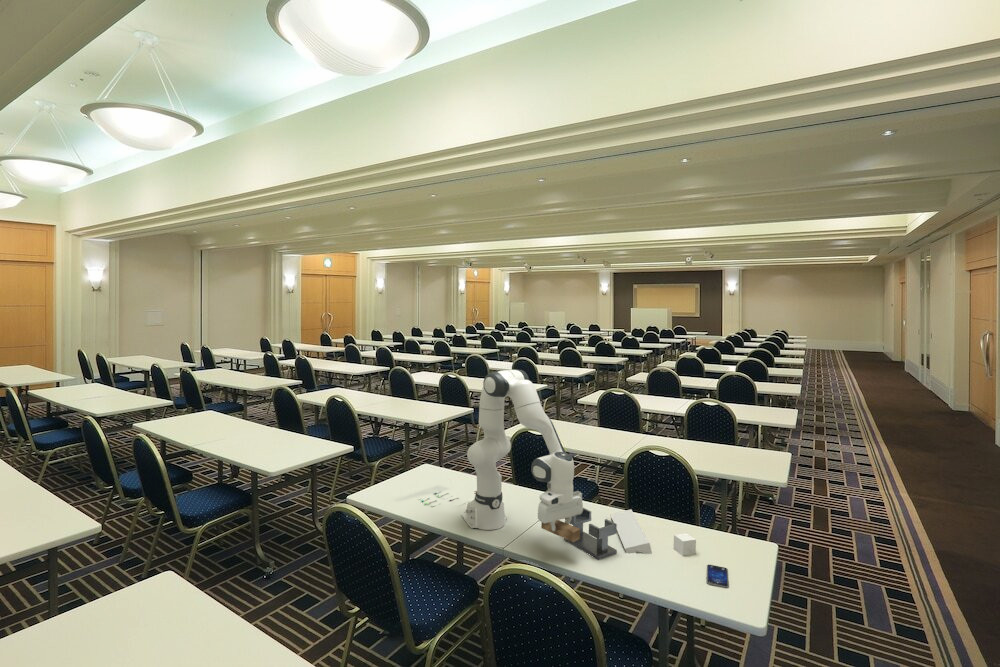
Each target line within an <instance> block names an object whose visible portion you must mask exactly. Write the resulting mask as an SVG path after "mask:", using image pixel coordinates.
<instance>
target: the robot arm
mask: <svg viewBox="0 0 1000 667" xmlns="http://www.w3.org/2000/svg"><path fill="white" fill-rule="evenodd" d="M482 385H483V386H482V389H481V392H480V399H479V407H478V411H479V412H478V425H479V427H480V428H481V429H482V431H483V439H480V440H477V441H476V442H474V443H473V444H471V446H469V447H468V449H467V454H466V456H467V460H468V462H469V463H470V464H471V465H472V466H473V468H474V470H475V475H476V491H473V492H474V494H475V495H474V500H472V501H471V502H469V503H467V505H466V509H465V512H462V513H461V518H462V517H463V518H464V519H463V518H462V519H463V521H464V522H465V521H466V522H467V523H468V524H467V523H466V522H465V523H466V524H467V526H468V525H469V526H470V527H471V528H470V527H469V526H468V527H469V528H470V529H473V528H479V529H478V530H484V531H490V530H491V531H493V530H498V529H501V528H503V527H504V526H505V525H506V524H505V523H506V521H507V520H508V518H507V516H505V515H506V514H505V503H504V502H503V492H502V477H503V476H502V474H501V473H500V472H499V471H498V468H497V464H496V463H497V461H499V460H501V459H504V458H505V457H506V456H507V455H508V454H509V453H510V451H511V448H512V443H511V441H510V439H509V438H508V436H507V435H506V431H505V426H504V423H505V422H504V420H505V419H504V418H505V415H504V414H505V400H506V397H509V398H511V400H512V402H513V407H514V411H515V415H516V417H517V420H518V421H519V424H520V425H522V426H523V427H525V428H528V429H531V430H535V431H536V432H538V433H540V435H542V438H543V440H544V441H545V442H544V443H545V445H546V447H547V450H548V451H549V454H547V455H543V456H540V457H536V458H534V460H533V461H532V463H531V467H530V468H531V469H530V470H531V475H532V476H533V478H534V479H536V481H538V482H540V483H547V482H549V483H550V484H551V488H550V489H549V490H548V489H547V490H546V491H544V492H543V493H541V494H540V495H539V500H540V502H539V503H538V509H537V519H538V521H539V522H541V523H548V522H550V524H551V526H552V531H557V526H556V525H555V524H554V523H555V522H556V520H560V521H561V520H563V519H564V521H563V522H564V523H567V524H569V525H570V521H571V519H572V516H576V515H580V514H582V512H583V508H584V506H583V504H584V503H583V493H582V492H581V491H579V490H576V491H574V481H573V480H574V477H575V463H574V459H573V456H572V455H570V454H569V453H567V452H566V451H565V449H564V446H563V445H562V442H561V440H560V437H559V435H558V432H557V430H556V426H555V425H554V423H553V421H552V420H551V418H550V416H548V415H547V413H545V410H544V408H543V406H542V402H541V400H540V397H539V394H538V392H537V390H536V387H535V386H534V383H533V382H532V381H531V380H530V378H529V375H528V374H527V373H526V372H525V371H524V370H522V369H517V368H516V369H504V370H503V369H502V370H499V371H493V372H489V373H488V374H486V375H485V377H484V379H483V384H482ZM565 518H566V521H565Z"/></svg>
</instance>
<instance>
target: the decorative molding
mask: <svg viewBox="0 0 1000 667" xmlns="http://www.w3.org/2000/svg"><path fill="white" fill-rule="evenodd" d="M610 516H611V520H612V522H613V523H615V524H617V528H616V532H617V533H618V536H619V538H620V540H621V543H622V545H623V548H624V550H625V552H626V553H631V554H636V553H638V554H639V553H643V554H652V548H651V544H650V542H649V540H648V538H647V536H646V535H645V532H644V531H643V528H642V526H641V525H640V523H639V521H638V519H637V518H636V515H635V514H634V512H633V510H632V508H631V509H627V510H622V511H619V512H614V513H610Z"/></svg>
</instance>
